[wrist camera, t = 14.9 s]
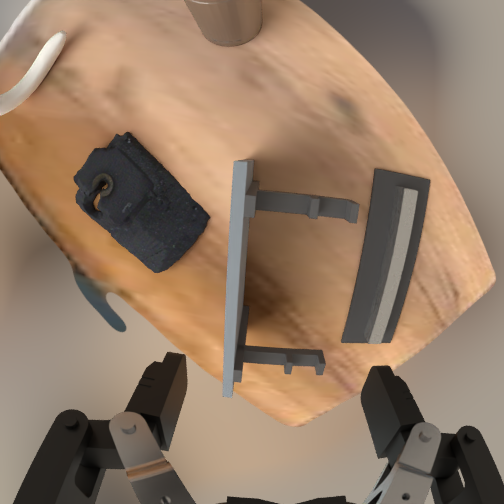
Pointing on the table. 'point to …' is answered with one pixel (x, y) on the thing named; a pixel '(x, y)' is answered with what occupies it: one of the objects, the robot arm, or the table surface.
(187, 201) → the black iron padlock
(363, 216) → the table surface
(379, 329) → the rail
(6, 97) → the banana
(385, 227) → the mat
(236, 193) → the rail stand
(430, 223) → the table surface
